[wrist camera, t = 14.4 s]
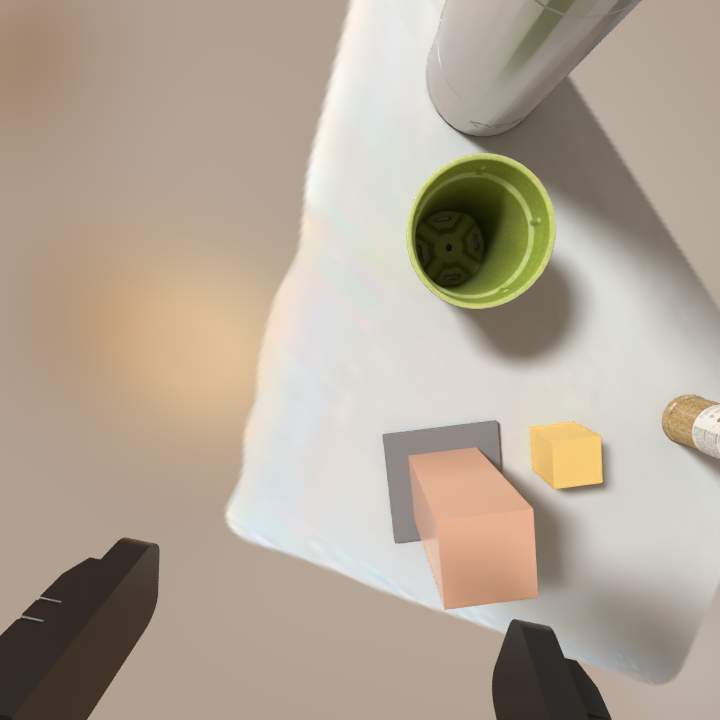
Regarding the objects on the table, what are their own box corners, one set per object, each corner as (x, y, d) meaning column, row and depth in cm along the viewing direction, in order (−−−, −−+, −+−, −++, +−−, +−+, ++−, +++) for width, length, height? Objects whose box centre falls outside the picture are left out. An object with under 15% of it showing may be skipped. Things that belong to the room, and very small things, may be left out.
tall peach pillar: (408, 455, 36) (436, 521, 26) (476, 447, 37) (533, 508, 26) (414, 519, 37) (444, 610, 26) (481, 511, 37) (538, 597, 27)
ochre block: (529, 426, 37) (551, 441, 33) (573, 421, 37) (600, 435, 33) (531, 469, 38) (553, 489, 34) (575, 463, 38) (602, 482, 34)
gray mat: (382, 434, 37) (383, 436, 36) (495, 420, 37) (497, 421, 36) (394, 540, 38) (395, 543, 37) (503, 526, 38) (505, 529, 38)
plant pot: (512, 292, 35) (567, 289, 27) (404, 318, 35) (424, 323, 27) (492, 178, 34) (542, 137, 25) (379, 205, 34) (392, 172, 25)
